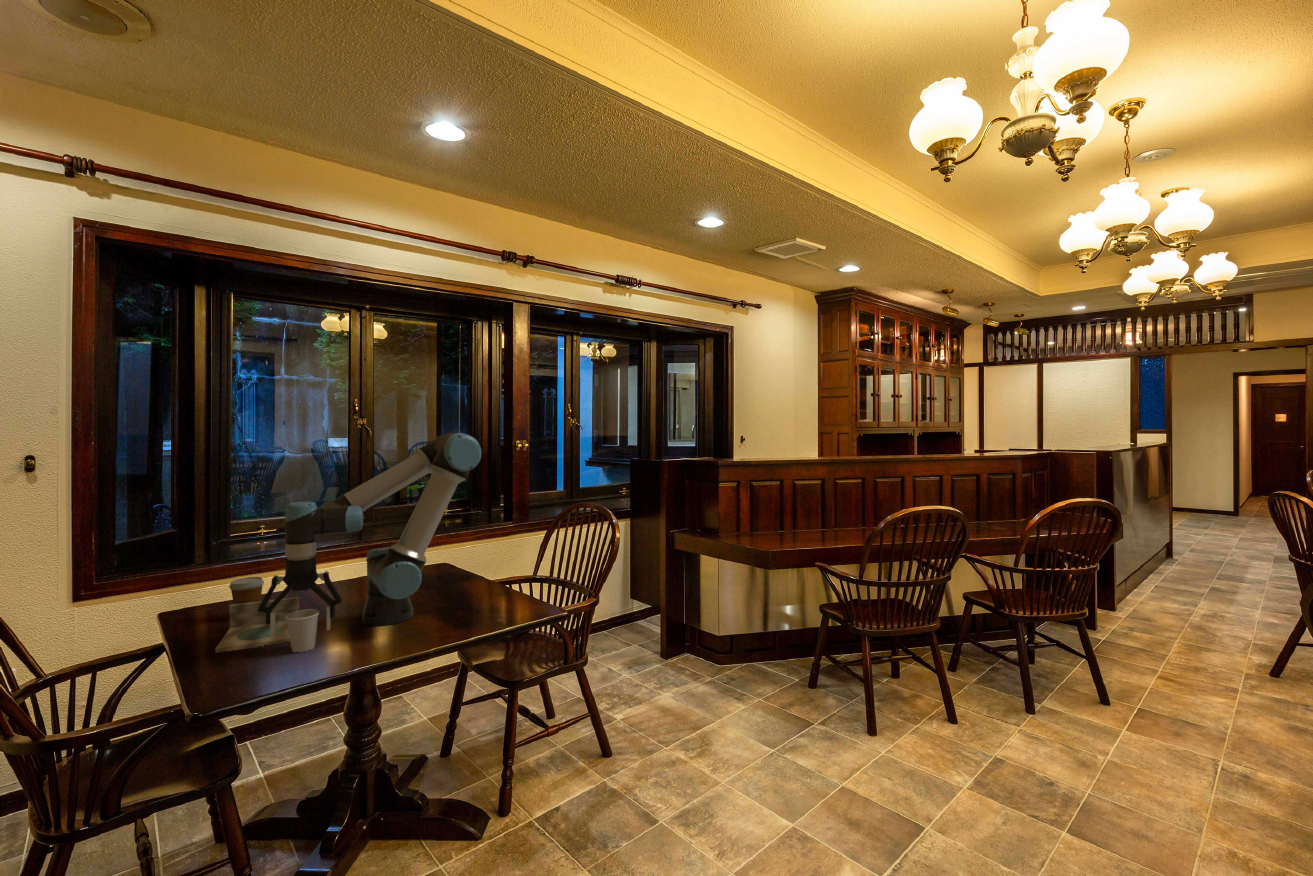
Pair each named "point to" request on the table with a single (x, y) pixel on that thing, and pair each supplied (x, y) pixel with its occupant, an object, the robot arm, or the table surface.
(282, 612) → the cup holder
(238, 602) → the disposable coffee cup
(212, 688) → the table surface
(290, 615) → the dixie cup
